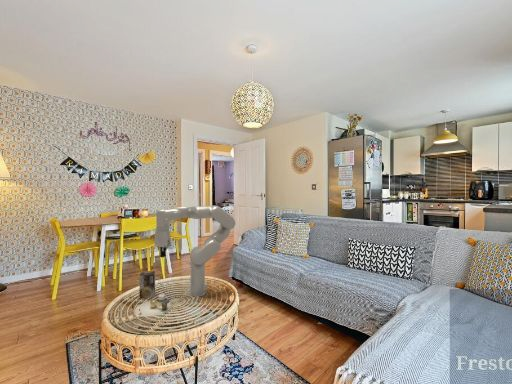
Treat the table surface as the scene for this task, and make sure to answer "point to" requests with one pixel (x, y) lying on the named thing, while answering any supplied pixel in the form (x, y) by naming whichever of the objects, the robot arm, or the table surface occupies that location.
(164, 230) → the robot arm
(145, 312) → the dial plate
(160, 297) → the lock button
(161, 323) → the table surface
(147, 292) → the coffee box
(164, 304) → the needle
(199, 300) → the table surface
